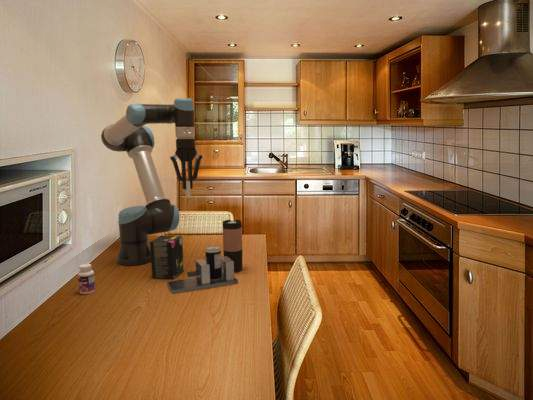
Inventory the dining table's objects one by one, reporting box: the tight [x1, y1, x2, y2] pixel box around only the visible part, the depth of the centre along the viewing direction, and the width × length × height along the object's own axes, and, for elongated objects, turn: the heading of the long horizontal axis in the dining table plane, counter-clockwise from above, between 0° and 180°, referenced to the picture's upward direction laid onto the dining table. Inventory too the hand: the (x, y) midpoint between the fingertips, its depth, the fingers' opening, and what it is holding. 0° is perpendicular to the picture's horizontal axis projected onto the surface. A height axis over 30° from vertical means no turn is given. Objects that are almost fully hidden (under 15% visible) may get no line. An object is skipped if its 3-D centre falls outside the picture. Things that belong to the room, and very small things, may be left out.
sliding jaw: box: [187, 258, 210, 285], centre depth 170 cm, size 8×7×7 cm
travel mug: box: [222, 219, 243, 274], centre depth 185 cm, size 8×8×20 cm
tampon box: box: [149, 235, 185, 280], centre depth 182 cm, size 11×9×15 cm
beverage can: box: [204, 245, 222, 281], centre depth 172 cm, size 6×6×12 cm
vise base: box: [166, 255, 239, 295], centre depth 170 cm, size 10×24×8 cm, turn 114°
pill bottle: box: [77, 263, 96, 295], centre depth 165 cm, size 5×5×10 cm
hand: (188, 197), depth 188 cm, fingers closed
